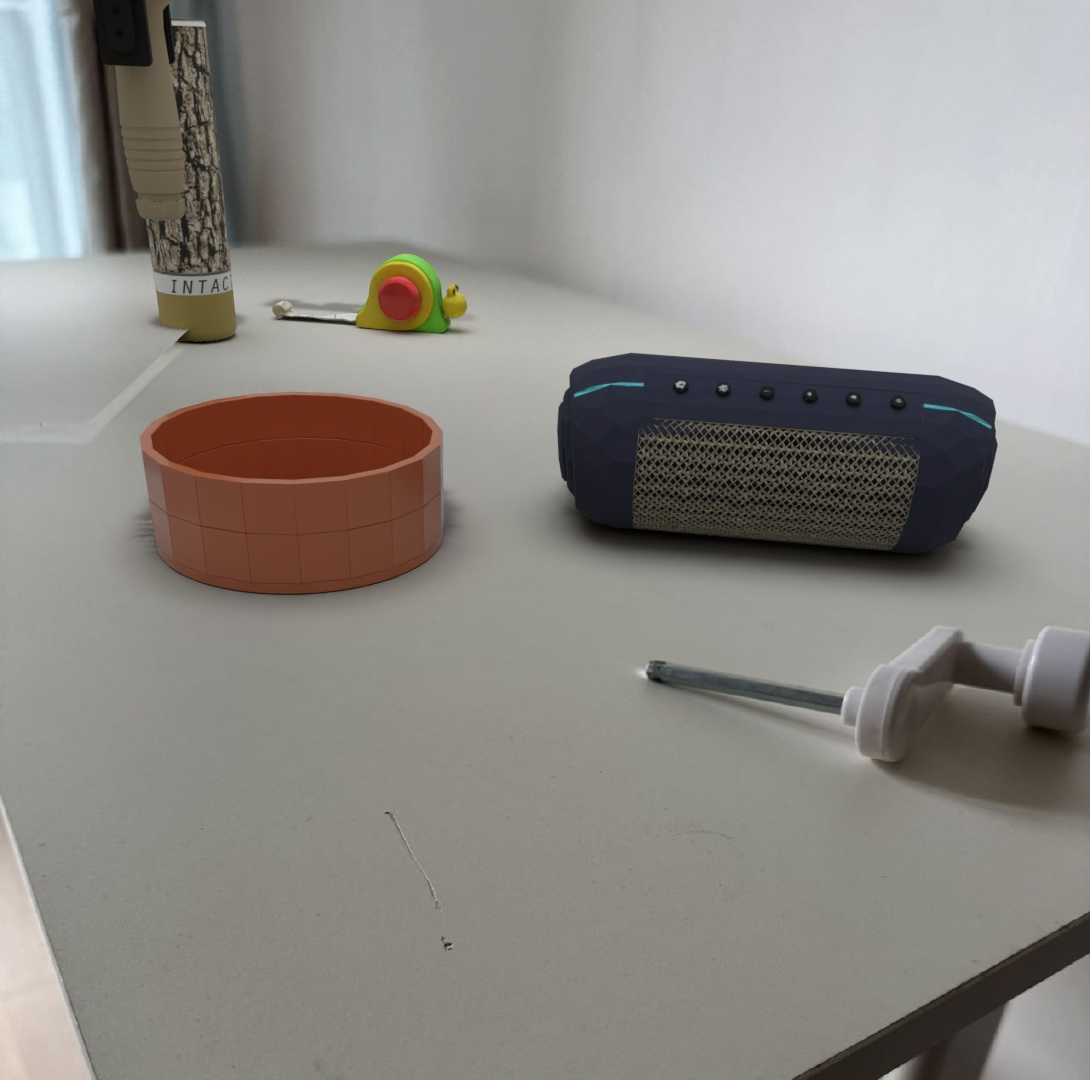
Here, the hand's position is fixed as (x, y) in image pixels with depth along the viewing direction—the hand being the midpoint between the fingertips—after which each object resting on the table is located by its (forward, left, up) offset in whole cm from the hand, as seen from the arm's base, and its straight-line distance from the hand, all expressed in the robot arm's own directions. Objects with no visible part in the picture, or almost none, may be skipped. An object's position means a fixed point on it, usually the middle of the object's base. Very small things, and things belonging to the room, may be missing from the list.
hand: (140, 60), depth 76 cm
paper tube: (-3, +20, -23) cm, 30 cm away
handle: (0, 0, -10) cm, 10 cm away
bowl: (+14, -27, -23) cm, 38 cm away
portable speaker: (+41, -25, -23) cm, 53 cm away
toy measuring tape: (+12, +27, -23) cm, 37 cm away
